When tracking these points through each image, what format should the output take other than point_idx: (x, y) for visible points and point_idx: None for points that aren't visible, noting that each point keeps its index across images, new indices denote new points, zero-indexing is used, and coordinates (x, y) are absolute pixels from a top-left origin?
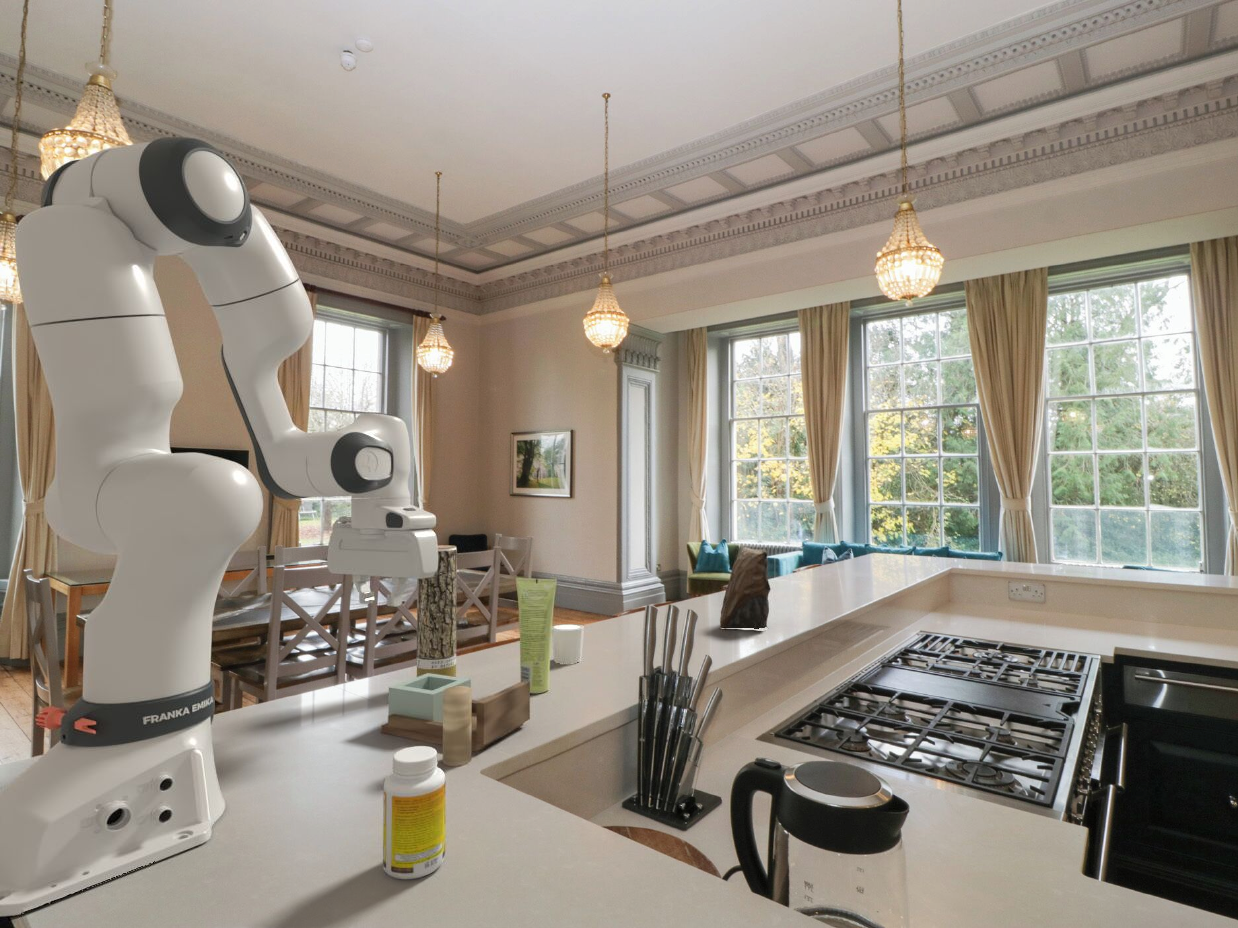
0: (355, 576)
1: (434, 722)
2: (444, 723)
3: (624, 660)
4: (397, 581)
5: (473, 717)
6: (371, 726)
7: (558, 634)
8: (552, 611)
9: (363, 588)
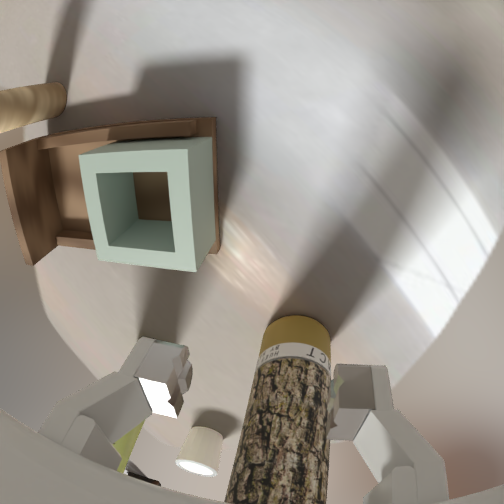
0: (432, 493)
1: (98, 137)
2: (19, 87)
3: (155, 433)
4: (52, 417)
5: None
6: (259, 134)
7: (195, 456)
8: None
9: (376, 439)
